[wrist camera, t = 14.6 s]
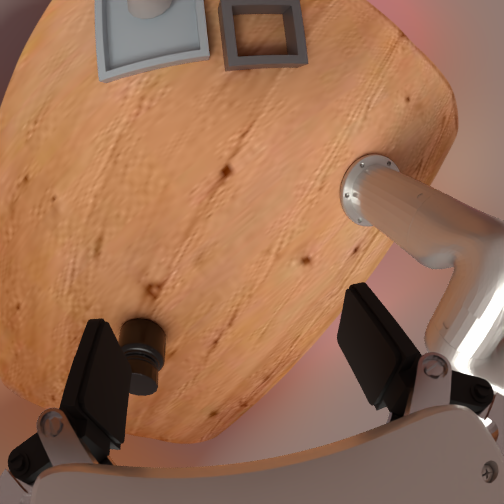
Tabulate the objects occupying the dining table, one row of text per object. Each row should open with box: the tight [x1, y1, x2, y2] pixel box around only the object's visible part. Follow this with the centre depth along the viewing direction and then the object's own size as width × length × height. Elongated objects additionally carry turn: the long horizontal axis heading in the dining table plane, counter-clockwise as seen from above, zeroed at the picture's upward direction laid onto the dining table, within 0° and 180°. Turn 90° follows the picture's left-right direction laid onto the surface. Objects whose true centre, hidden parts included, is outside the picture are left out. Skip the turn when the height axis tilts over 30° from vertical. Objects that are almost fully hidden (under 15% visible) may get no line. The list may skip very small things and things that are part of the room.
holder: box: [218, 0, 308, 71], centre depth 27 cm, size 10×10×4 cm
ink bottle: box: [118, 319, 166, 396], centre depth 43 cm, size 10×9×12 cm
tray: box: [95, 0, 210, 83], centre depth 22 cm, size 14×20×3 cm
